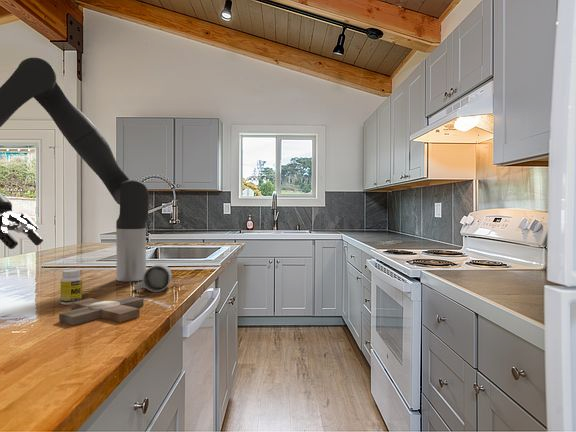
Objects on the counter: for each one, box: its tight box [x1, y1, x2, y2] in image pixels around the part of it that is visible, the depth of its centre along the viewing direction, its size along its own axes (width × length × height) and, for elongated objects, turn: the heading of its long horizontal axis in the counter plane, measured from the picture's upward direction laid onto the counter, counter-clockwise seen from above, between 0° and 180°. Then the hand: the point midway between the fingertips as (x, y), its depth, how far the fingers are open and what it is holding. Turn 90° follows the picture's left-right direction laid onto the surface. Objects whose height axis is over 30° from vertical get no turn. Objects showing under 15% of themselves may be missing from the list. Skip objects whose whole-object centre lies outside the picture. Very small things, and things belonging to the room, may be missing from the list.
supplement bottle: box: [60, 268, 83, 306], centre depth 97 cm, size 5×5×8 cm
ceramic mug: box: [133, 263, 173, 293], centre depth 113 cm, size 11×8×8 cm
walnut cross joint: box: [58, 295, 145, 326], centre depth 88 cm, size 18×18×2 cm
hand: (28, 244), depth 97 cm, fingers open, 8 cm apart
